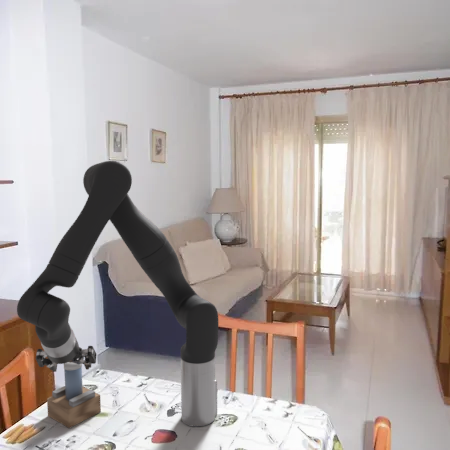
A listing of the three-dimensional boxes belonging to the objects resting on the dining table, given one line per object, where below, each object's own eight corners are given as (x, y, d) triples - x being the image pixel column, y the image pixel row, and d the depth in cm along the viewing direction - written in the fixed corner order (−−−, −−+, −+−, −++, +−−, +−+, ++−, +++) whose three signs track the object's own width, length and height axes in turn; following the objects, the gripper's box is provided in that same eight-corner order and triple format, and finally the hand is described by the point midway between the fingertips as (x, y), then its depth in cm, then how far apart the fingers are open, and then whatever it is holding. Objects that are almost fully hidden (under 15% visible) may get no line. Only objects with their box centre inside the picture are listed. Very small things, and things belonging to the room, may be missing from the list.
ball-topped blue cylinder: (76, 391, 122) (75, 357, 121) (86, 395, 119) (85, 360, 119) (61, 397, 119) (60, 362, 118) (71, 402, 116) (70, 366, 115)
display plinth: (79, 400, 127) (78, 379, 126) (100, 411, 121) (99, 389, 120) (47, 415, 119) (46, 393, 118) (69, 428, 113) (68, 404, 112)
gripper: (91, 326, 108) (99, 352, 120) (31, 329, 106) (46, 355, 118) (88, 355, 103) (97, 379, 116) (25, 359, 101) (42, 383, 114)
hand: (71, 367), depth 117 cm, fingers open, 8 cm apart
